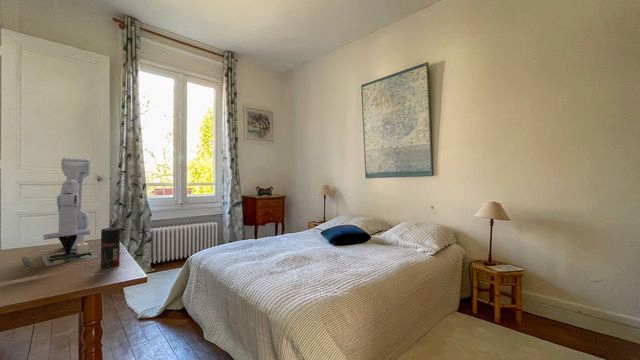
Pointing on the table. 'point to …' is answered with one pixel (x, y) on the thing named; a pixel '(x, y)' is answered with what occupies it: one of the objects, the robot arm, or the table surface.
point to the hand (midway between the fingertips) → (67, 253)
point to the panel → (66, 257)
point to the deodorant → (110, 248)
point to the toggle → (81, 248)
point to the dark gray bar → (26, 261)
